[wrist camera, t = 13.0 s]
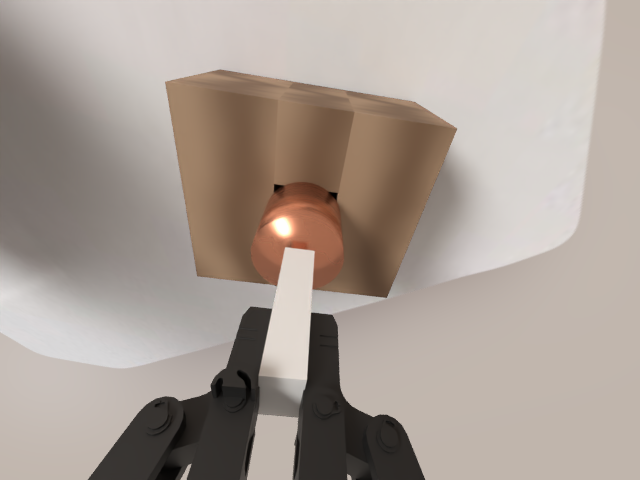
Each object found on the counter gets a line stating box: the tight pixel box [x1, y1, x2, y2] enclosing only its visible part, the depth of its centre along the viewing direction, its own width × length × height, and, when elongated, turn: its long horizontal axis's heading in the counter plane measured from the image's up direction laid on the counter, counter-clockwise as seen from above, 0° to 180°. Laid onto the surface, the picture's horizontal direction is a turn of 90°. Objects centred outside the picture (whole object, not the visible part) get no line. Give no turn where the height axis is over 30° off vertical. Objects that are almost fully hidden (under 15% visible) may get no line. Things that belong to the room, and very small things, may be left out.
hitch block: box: [165, 70, 457, 298], centre depth 22 cm, size 16×14×9 cm
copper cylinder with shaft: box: [251, 182, 344, 290], centre depth 19 cm, size 5×5×10 cm
